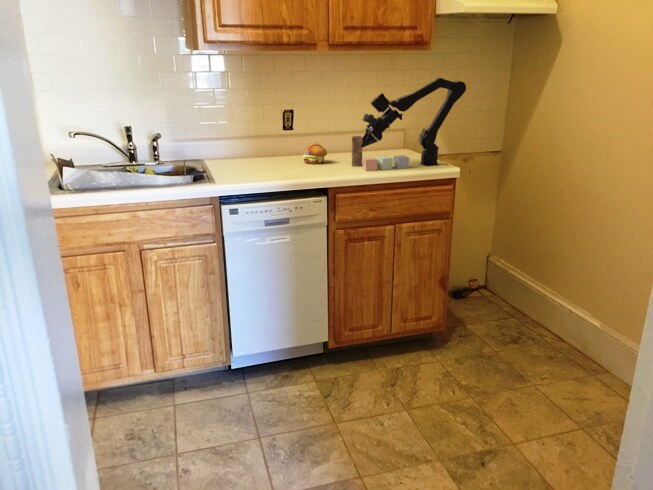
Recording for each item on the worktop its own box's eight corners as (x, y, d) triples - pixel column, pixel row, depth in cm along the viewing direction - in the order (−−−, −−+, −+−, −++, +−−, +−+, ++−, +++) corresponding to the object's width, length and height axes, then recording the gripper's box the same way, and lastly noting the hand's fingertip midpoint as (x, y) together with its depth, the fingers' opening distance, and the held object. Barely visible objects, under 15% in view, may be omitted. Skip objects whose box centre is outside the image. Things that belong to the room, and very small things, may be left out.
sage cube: (386, 167, 246) (386, 156, 244) (392, 169, 242) (392, 157, 240) (376, 168, 244) (376, 157, 242) (382, 170, 240) (382, 159, 238)
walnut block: (361, 164, 252) (361, 135, 248) (362, 166, 248) (362, 137, 244) (351, 164, 252) (351, 136, 248) (352, 166, 248) (352, 137, 244)
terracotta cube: (373, 168, 244) (373, 157, 242) (376, 170, 239) (376, 159, 237) (362, 169, 243) (362, 157, 241) (365, 171, 238) (365, 159, 236)
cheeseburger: (309, 159, 265) (313, 139, 261) (328, 166, 261) (332, 146, 256) (298, 162, 257) (302, 142, 252) (317, 170, 252) (321, 149, 248)
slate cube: (403, 166, 248) (404, 155, 246) (408, 168, 243) (408, 157, 242) (393, 167, 247) (393, 155, 245) (398, 169, 242) (398, 157, 240)
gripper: (371, 105, 251) (347, 129, 254) (375, 109, 233) (349, 135, 237) (388, 122, 253) (363, 146, 257) (393, 127, 236) (367, 153, 239)
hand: (360, 145), depth 247 cm, fingers open, 9 cm apart
